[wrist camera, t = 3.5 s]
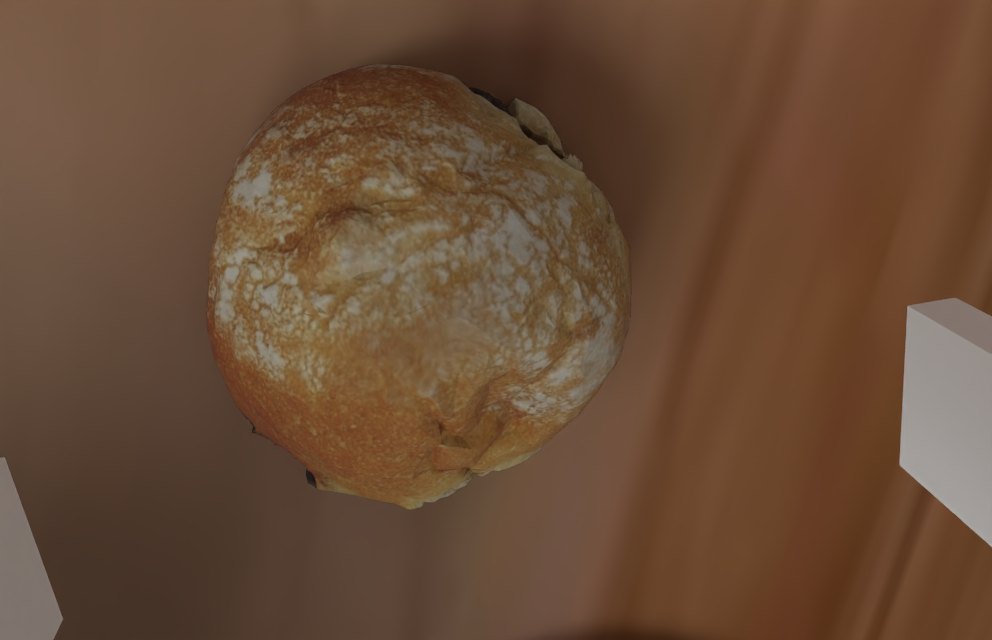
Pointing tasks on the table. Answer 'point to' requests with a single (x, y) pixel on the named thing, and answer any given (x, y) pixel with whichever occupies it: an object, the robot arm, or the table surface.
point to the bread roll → (412, 283)
